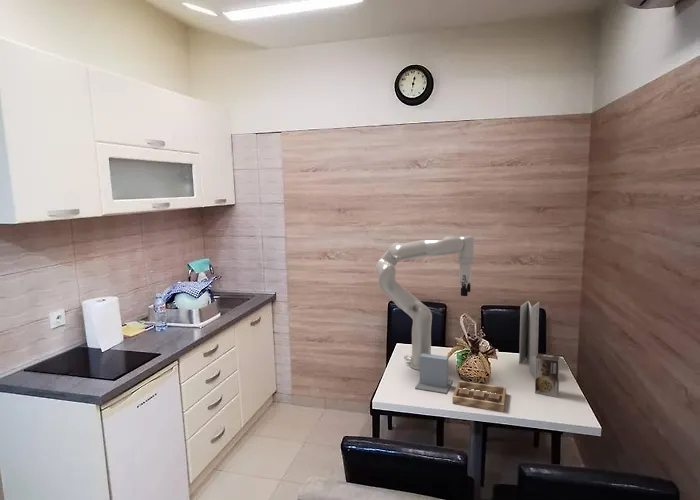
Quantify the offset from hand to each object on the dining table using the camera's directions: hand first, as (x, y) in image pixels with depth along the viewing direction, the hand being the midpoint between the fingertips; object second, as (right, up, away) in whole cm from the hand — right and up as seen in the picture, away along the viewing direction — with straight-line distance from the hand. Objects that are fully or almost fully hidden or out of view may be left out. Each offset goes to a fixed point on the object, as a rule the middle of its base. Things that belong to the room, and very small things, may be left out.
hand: (465, 293), depth 214 cm
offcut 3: (0, -42, -41) cm, 58 cm away
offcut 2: (-5, -42, -39) cm, 57 cm away
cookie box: (+27, -40, -31) cm, 57 cm away
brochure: (+34, -35, +5) cm, 49 cm away
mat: (-20, -40, -21) cm, 49 cm away
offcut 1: (-11, -41, -36) cm, 56 cm away
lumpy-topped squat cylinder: (+33, -38, -14) cm, 52 cm away
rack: (-4, -41, -35) cm, 54 cm away
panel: (-20, -39, -21) cm, 49 cm away
